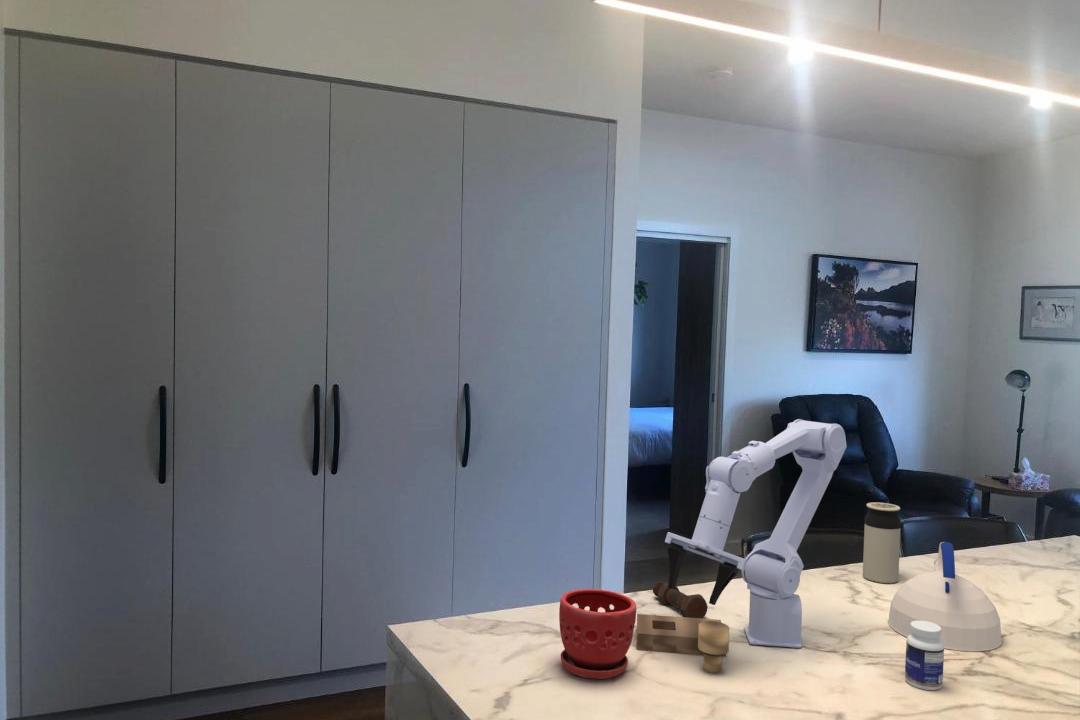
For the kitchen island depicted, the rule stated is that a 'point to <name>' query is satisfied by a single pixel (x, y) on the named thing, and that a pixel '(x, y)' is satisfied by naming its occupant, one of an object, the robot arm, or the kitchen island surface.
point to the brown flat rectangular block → (668, 633)
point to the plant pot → (596, 632)
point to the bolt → (681, 600)
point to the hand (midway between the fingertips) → (691, 596)
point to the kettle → (947, 607)
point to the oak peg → (713, 644)
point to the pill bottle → (924, 656)
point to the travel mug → (881, 543)
